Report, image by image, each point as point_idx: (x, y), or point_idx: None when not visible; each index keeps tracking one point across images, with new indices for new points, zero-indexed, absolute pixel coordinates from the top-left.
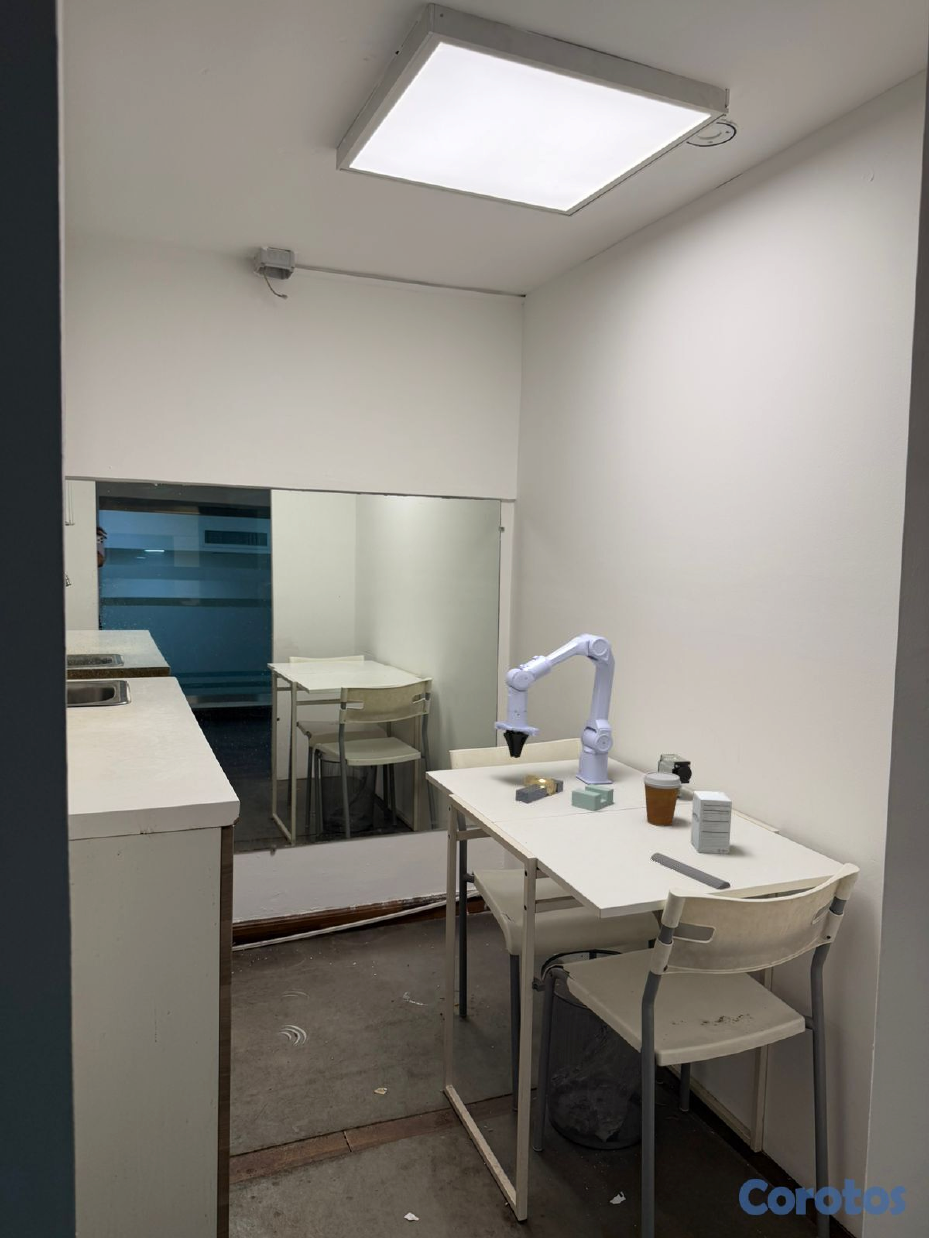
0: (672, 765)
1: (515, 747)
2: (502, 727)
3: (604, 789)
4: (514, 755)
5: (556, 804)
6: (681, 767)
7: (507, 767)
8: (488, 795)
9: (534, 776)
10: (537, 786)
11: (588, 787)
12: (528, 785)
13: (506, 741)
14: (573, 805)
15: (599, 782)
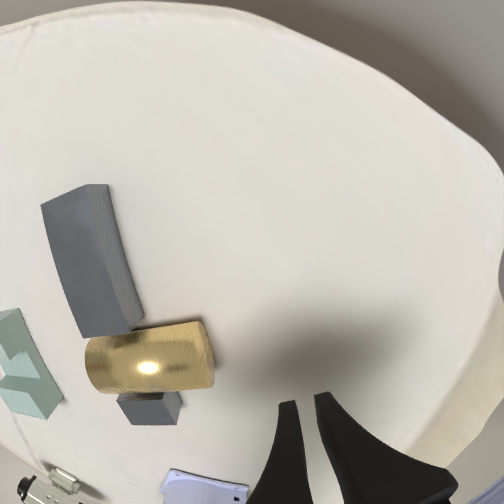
0: (31, 499)
1: (284, 454)
2: (495, 498)
3: (6, 395)
4: (292, 408)
5: (31, 280)
6: (17, 491)
7: (425, 407)
8: (220, 124)
9: (162, 371)
10: (95, 311)
11: (22, 390)
12: (174, 326)
13: (394, 450)
14: (15, 309)
15: (164, 481)
